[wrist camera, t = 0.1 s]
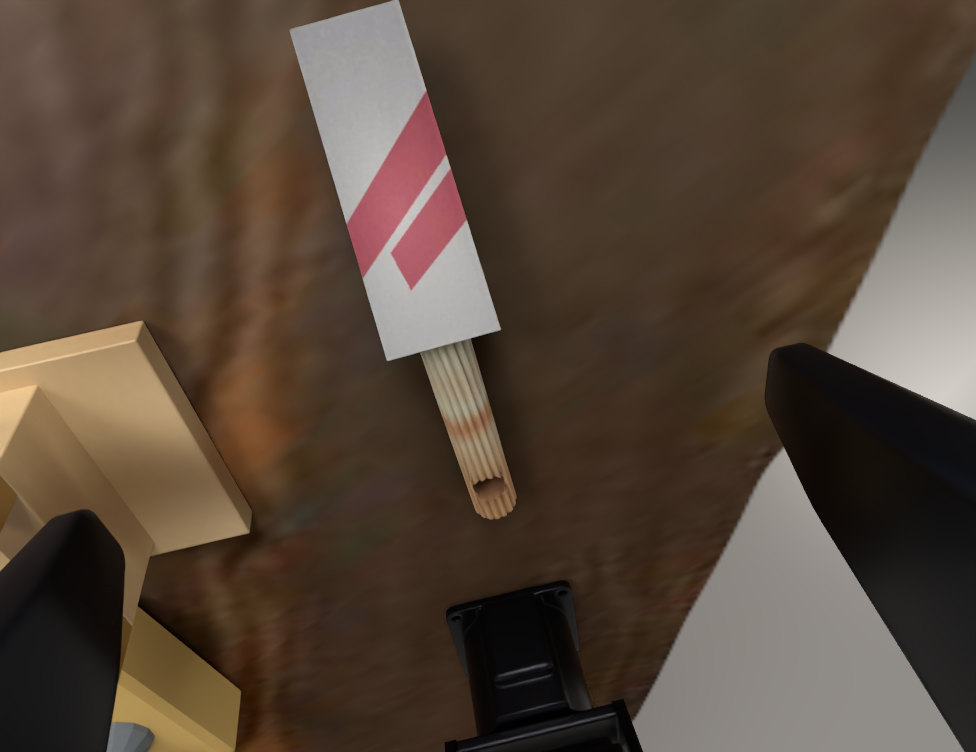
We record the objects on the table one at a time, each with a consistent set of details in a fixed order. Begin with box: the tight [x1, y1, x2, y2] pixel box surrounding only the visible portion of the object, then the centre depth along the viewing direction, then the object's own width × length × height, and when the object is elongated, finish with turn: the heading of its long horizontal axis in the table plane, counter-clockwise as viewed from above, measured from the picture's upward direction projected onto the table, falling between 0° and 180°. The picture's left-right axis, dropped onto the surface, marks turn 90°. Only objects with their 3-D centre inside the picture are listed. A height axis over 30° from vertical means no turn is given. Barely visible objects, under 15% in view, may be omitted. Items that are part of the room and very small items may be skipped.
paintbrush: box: [290, 0, 517, 520], centre depth 24 cm, size 4×3×20 cm
